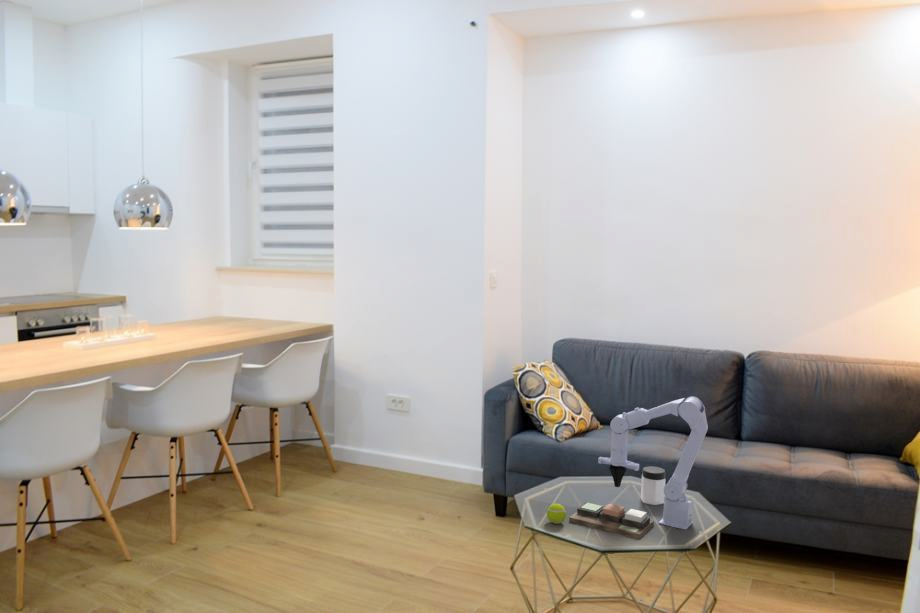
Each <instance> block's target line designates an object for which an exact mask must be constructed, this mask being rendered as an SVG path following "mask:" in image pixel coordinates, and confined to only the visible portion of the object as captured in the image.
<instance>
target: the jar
mask: <svg viewBox="0 0 920 613" xmlns="http://www.w3.org/2000/svg"><path fill="white" fill-rule="evenodd" d="M640 483H641V485H640V487H641V488H640V500H641V501H642V504H646V505H652V506H658V505H664V486H665V485H666V469H664V468H662V467H659V466H650V465H649V466H644V467H642V473H641V482H640Z"/></svg>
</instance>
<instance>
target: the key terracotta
mask: <svg viewBox="0 0 920 613" xmlns="http://www.w3.org/2000/svg"><path fill="white" fill-rule="evenodd" d="M624 511H625V507H624V506H621V505H617V504H612V503H608V504H606V505H605V507H604V508H603V514H606V515H610V516H614V517H620V516H621V515H622V514H623V513H624Z"/></svg>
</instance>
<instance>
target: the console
mask: <svg viewBox="0 0 920 613" xmlns="http://www.w3.org/2000/svg"><path fill="white" fill-rule="evenodd" d="M586 503H589V502H587V501H585V502H584V503H582V504H581V505H580V506H579V507H577V510H576V511H575V512H574V513H573V514H572V515H570V516H569V517H568V522H571V523H574V524H578V525H582V526H587V527H590V528H594V529H597V530H603V531H606V532H609V533H613V534H619V535H621V536H626V535H627V536H626V537H630V538H635V539H639V540H640V539H641V538H642V537H644V535H645V534H647V533H648V532H649V530H650V529H651V528H652V527H654V525H655V521H654V520H652V519H651V517H650V516H649V515H647V518H646V519H645V520H644V521H643V522H642V523H640V522H635V521H631V520H627V519H625V513H627V512H628V510H627V511H626V510H624V513H623V514H622V515H621V516H620V517H614V516H610V515H606V514H603V508H604V507H605V506H606V505H605V506H604V505H601V504H599V505H600V506H602V508H601V509H600V510H599V511H597V512H593V511H589V510H585V509H581V507H582V506H584V505H585V504H586ZM590 503H591V502H590ZM591 504H593V503H591Z"/></svg>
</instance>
